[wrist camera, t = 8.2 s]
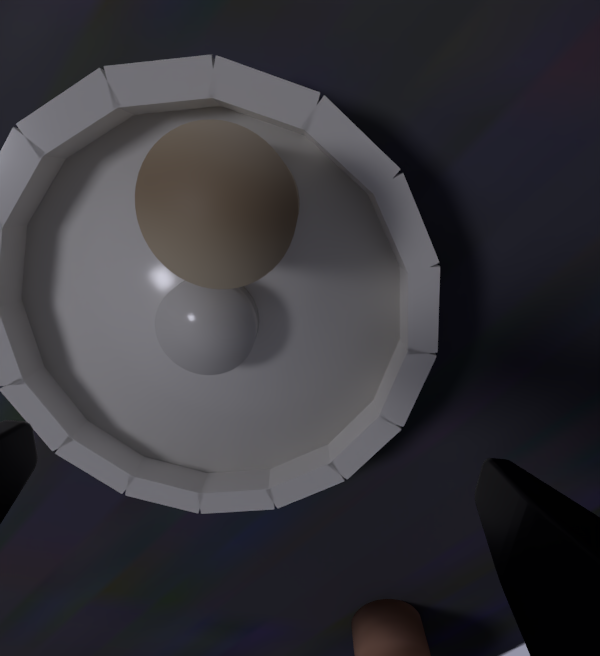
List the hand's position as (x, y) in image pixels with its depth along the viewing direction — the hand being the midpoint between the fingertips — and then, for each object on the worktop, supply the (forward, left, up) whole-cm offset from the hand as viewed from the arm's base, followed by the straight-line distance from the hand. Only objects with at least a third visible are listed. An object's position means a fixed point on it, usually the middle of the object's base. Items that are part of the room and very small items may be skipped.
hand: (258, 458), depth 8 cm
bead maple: (+3, -4, -10) cm, 11 cm away
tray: (+3, +1, -11) cm, 11 cm away
